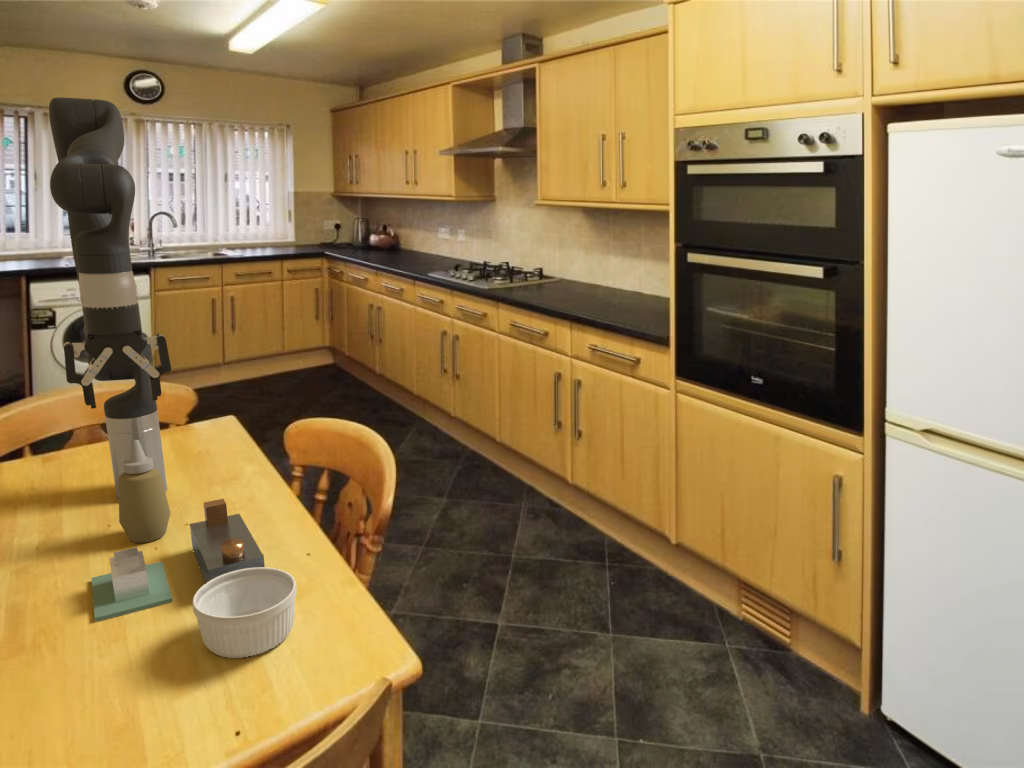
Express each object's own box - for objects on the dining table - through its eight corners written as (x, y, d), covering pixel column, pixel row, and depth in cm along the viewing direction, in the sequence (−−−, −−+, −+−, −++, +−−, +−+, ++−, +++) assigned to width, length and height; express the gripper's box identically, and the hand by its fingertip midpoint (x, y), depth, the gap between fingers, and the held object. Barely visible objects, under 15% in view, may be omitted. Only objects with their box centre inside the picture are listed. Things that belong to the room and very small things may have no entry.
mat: (91, 581, 109) (91, 577, 109) (162, 564, 115) (161, 561, 114) (95, 621, 99) (94, 618, 99) (172, 601, 104) (172, 598, 104)
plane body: (192, 550, 119) (187, 504, 117) (241, 539, 123) (237, 494, 121) (211, 600, 104) (205, 547, 102) (266, 585, 109) (261, 535, 106)
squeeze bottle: (159, 522, 130) (148, 430, 125) (181, 534, 125) (169, 439, 120) (114, 537, 124) (100, 441, 119) (134, 551, 119) (120, 452, 114)
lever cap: (112, 581, 108) (108, 552, 107) (145, 573, 111) (141, 544, 109) (115, 602, 102) (111, 571, 101) (149, 593, 105) (145, 563, 104)
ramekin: (266, 598, 105) (262, 556, 103) (319, 631, 97) (316, 586, 95) (179, 639, 95) (173, 593, 93) (230, 679, 87) (225, 630, 85)
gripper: (159, 295, 112) (170, 391, 117) (54, 301, 105) (71, 403, 109) (165, 301, 106) (177, 403, 111) (54, 308, 99) (72, 416, 103)
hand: (124, 403), depth 110 cm, fingers open, 8 cm apart
